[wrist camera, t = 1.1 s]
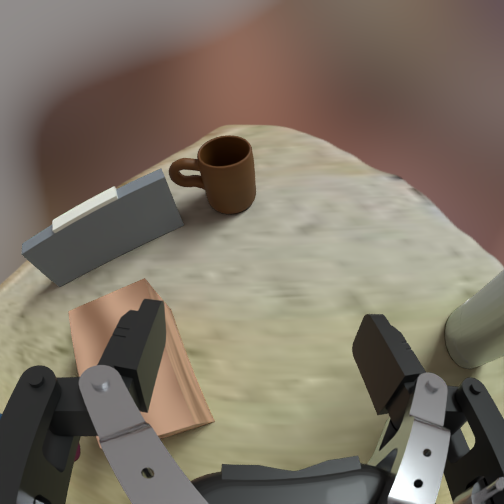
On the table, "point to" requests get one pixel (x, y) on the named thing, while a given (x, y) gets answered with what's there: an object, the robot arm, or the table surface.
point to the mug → (221, 173)
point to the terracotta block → (171, 367)
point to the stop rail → (104, 228)
